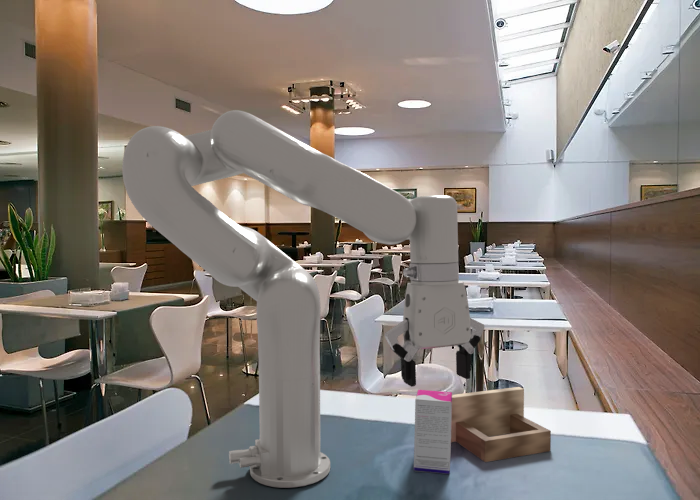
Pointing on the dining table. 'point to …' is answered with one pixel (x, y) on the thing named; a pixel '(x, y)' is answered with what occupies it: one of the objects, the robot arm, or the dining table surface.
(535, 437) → the wooden tray holder
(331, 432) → the dining table surface
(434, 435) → the supplement box
